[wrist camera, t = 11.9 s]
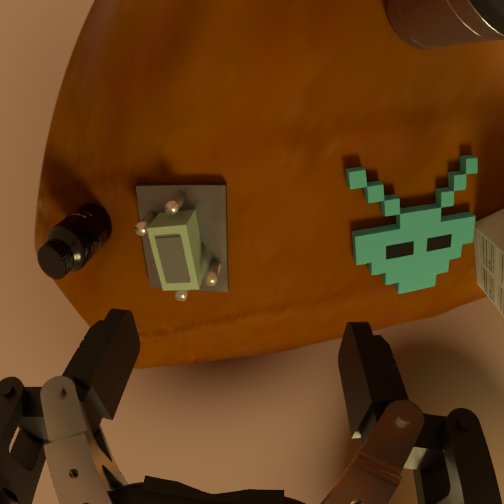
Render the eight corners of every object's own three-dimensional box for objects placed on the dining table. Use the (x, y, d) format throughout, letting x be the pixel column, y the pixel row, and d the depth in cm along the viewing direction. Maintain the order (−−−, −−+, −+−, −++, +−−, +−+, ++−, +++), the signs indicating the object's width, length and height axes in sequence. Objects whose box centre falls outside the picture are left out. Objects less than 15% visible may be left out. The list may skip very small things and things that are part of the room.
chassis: (139, 183, 40) (123, 195, 35) (226, 182, 39) (220, 195, 35) (152, 282, 47) (142, 303, 43) (228, 287, 47) (224, 309, 42)
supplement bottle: (96, 194, 40) (49, 228, 30) (121, 231, 43) (83, 275, 33) (68, 215, 42) (23, 252, 32) (92, 250, 45) (54, 293, 34)
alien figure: (344, 168, 38) (354, 293, 47) (348, 172, 36) (357, 302, 45) (469, 154, 35) (461, 270, 44) (477, 158, 33) (467, 277, 42)
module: (159, 212, 40) (145, 229, 36) (195, 209, 40) (185, 225, 35) (172, 270, 44) (162, 291, 40) (205, 269, 44) (198, 290, 39)
